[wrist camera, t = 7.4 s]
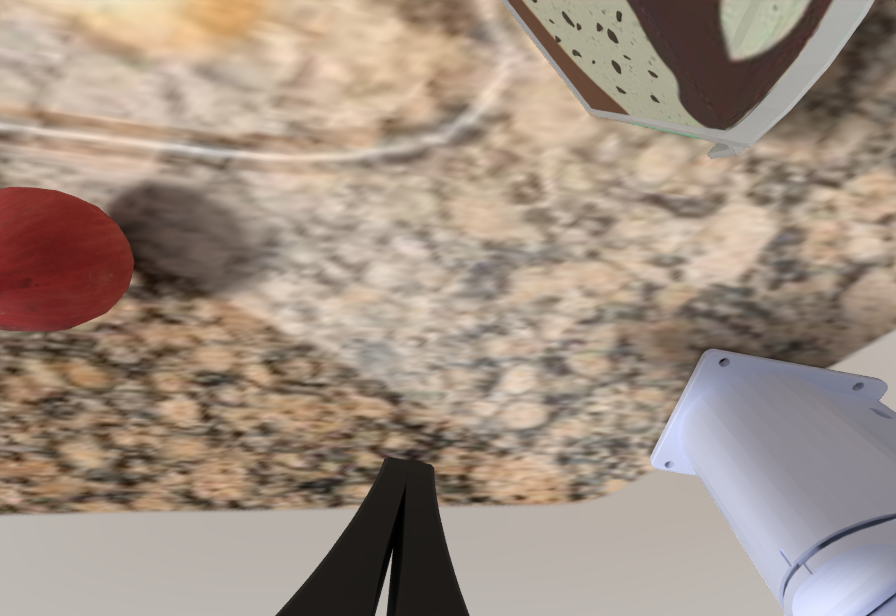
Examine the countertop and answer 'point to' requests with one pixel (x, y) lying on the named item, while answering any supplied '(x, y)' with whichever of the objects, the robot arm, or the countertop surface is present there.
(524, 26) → the food container
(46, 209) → the red pomegranate
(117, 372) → the countertop surface
